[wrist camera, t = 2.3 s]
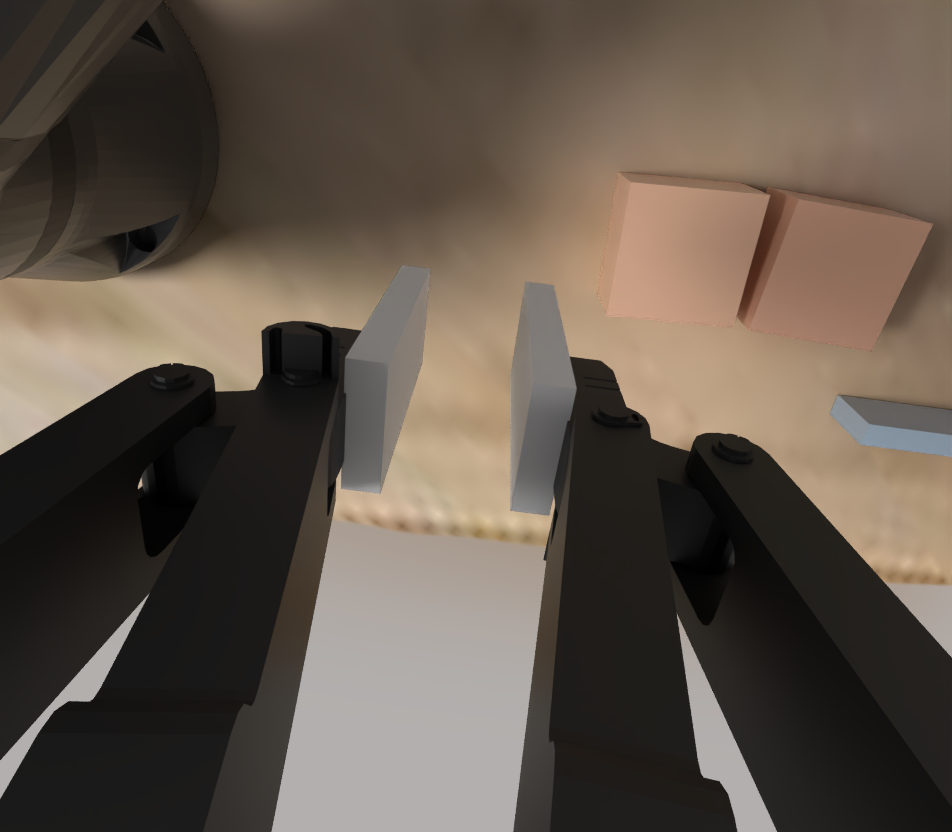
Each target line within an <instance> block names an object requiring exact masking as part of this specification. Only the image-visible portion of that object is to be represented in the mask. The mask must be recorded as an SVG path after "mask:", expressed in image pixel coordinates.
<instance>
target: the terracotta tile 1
mask: <svg viewBox="0 0 952 832" xmlns="http://www.w3.org/2000/svg"><path fill="white" fill-rule="evenodd" d="M769 198H770V195H769V194H767V193H764V192H762V191H759V190H757V189H754V188H752V187H750V186H747V185H745V184H742V183H734V182H723V181H712V180H701V179H690V178H679V177H668V176H657V175H646V174H635V173H624V172H618V174H617V180H616V185H615V191H614V197H613V203H612V209H611V214H610V220H609V226H608V232H607V238H606V244H605V249H604V255H603V261H602V267H601V273H600V278H599V284H598V290H597V294H598V296H599V299H600V301H601V304H602V306H603V308H604V311H605V313H606V315H607V316H614V317H625V318H636V319H646V320H657V321H668V322H678V323H689V324H700V325H711V326H721V327H732V328H733V326H734V323H735V319H736V316H737V312H738V309H739V305H740V302H741V298H742V294H743V291H744V287H745V284H746V280H747V277H748V273H749V269H750V266H751V262H752V259H753V255H754V252H755V248H756V245H757V241H758V237H759V234H760V230H761V227H762V223H763V220H764V216H765V212H766V209H767V205H768V202H769Z"/></svg>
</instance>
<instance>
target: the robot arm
mask: <svg viewBox="0 0 952 832" xmlns="http://www.w3.org/2000/svg"><path fill="white" fill-rule="evenodd" d="M162 1H163V0H0V280H2V279H5V278H7V277H11V278H27V279H43V280H59V281H81V282H82V281H96V280H103V279H109V278H113V277H118V276H121V275H124V274H128V273H130V272H132V271H135V270H137V269H139V268H141V267H144V266H146V265H148V264H150V263H152V262H154V261H156V260H158V259H160V258H162V257H164V256H165V255H167V254H168V253H170V252H171V251H172V250H174V249H175V248H176V247H177V246H179V245H180V244H181V243H182V242H183V241H184V240H185V239H186V238H187V237H188V236H189V234H190V233H191V232H192V231H193V229H194V228H195V227H196V225H197V224H198V222H199V221H200V219H201V217H202V215H203V214H204V211H205V209H206V207H207V205H208V203H209V200H210V197H211V194H212V191H213V187H214V183H215V178H216V173H217V165H218V130H217V121H216V115H215V109H214V105H213V101H212V97H211V93H210V90H209V86H208V83H207V80H206V78H205V75H204V72H203V69H202V67H201V65H200V62H199V60H198V58H197V56H196V54H195V52H194V50H193V48H192V46H191V44H190V42H189V40H188V39H187V37H186V35H185V33H184V32H183V30H182V29H181V27H180V25H179V24H178V22H177V21H176V19H175V18H174V17H173V15H172V14H171V12H170V11H169V10H168V8H167V7H166V6H165V5H164V3H163V2H162ZM430 271H431V269H430V268H422V267H415V266H407V265H402V266H401V268H400V269H399V271H398V273H397V274H396V276H395V277H394V279H393V281H392V282H391V284H390V286H389V287H388V289H387V290H386V292H385V294H384V295H383V297H382V299H381V300H380V302H379V303H378V305H377V307H376V308H375V310H374V312H373V313H372V315H371V316H370V318H369V320H368V321H367V323H366V325H365V326H364V328H363V329H362V331H361V330H353V329H346V328H338V327H329V326H326V325H323V324H319V323H313V322H305V321H290V322H281V323H276V324H273V325H270V326H267V327H266V328H265V329H264V330H262V360H263V376H262V378H261V380H260V382H259V384H258V385H257V387H256V389H255V390H249V391H224V392H215V382H214V377H213V374H211V373H210V372H209V371H207V370H206V369H203V368H199V367H196V366H189V365H184V364H181V363H173V365H171V363H170V364H162V365H160V366H158V367H153V368H148V369H146V370H143V371H141V372H138V373H136V374H134V375H133V376H131V377H129V378H128V379H126V380H124V381H123V382H121V383H119V384H118V385H116V386H114V387H113V388H111V389H110V390H108V391H106V392H105V393H103V394H101V395H100V396H98V397H96V398H95V399H93V400H91V401H90V402H88V403H86V404H85V405H83V406H81V407H80V408H78V409H76V410H75V411H73V412H71V413H70V414H68V415H66V416H65V417H63V418H61V419H60V420H58V421H56V422H55V423H53V424H51V425H50V426H48V427H47V428H45V429H43V430H42V431H40V432H38V433H37V434H35V435H33V436H32V437H30V438H28V439H27V440H25V441H23V442H22V443H20V444H18V445H17V446H15V447H13V448H12V449H10V450H8V451H7V452H5V453H3V454H2V455H0V760H1V759H2V758H3V757H4V756H5V754H6V753H7V752H8V751H9V750H10V749H11V748H12V747H13V745H14V744H15V743H16V742H17V741H18V740H19V739H20V738H21V737H22V735H23V734H24V733H25V732H26V731H27V730H28V729H29V728H30V726H31V725H32V724H33V723H34V722H35V721H36V720H37V718H38V717H39V716H40V715H41V714H42V713H43V711H45V709H46V708H47V707H48V706H49V705H50V704H51V703H52V702H53V701H54V700H55V698H56V697H57V696H58V695H59V694H60V693H61V692H62V690H63V689H64V688H65V687H66V686H67V685H68V684H69V683H70V682H71V680H72V679H73V678H74V677H75V676H76V675H77V674H78V673H79V671H80V670H81V669H82V668H83V667H84V666H85V664H87V663H88V661H89V660H90V659H91V658H92V657H93V656H94V655H95V654H96V652H97V651H98V650H99V649H100V648H101V647H102V646H103V645H104V643H105V642H106V641H107V640H108V639H109V638H110V637H111V636H112V634H113V633H114V632H115V631H116V630H117V629H118V628H119V627H120V625H121V624H122V623H123V622H124V621H125V620H126V619H127V617H129V615H130V614H131V613H132V612H133V611H134V610H135V609H136V608H137V606H138V605H139V604H140V603H141V602H142V601H143V600H144V598H145V597H146V596H147V595H148V594H149V593H150V594H149V596H148V598H147V600H146V602H145V604H144V605H143V607H142V609H141V611H140V613H139V615H138V617H137V619H136V621H135V623H134V625H133V627H132V628H131V630H130V632H129V634H128V636H127V638H126V640H125V642H124V644H123V646H122V648H121V650H120V652H119V654H118V655H117V657H116V659H115V661H114V663H113V665H112V667H111V669H110V671H109V673H108V675H107V677H106V679H105V681H104V682H103V684H102V686H101V688H100V690H99V691H98V693H97V694H96V696H95V697H94V699H93V700H91V701H90V702H79V701H73V702H72V701H68V702H67V703H65V704H64V705H62V706H61V707H60V708H58V709H57V710H55V711H54V712H53V714H52V715H51V716H50V718H49V719H48V721H47V722H46V723H45V725H44V726H43V727H42V729H41V730H40V732H39V733H38V735H37V737H36V738H35V740H34V742H33V743H32V745H31V747H30V749H29V750H28V752H27V754H26V755H25V757H24V759H23V761H22V762H21V764H20V766H19V768H18V769H17V771H16V773H15V775H14V776H13V778H12V780H11V781H10V783H9V785H8V787H7V789H6V790H5V792H4V793H3V795H2V797H1V799H0V832H271V831H272V826H273V821H274V816H275V810H276V805H277V800H278V795H279V790H280V784H281V779H282V774H283V769H284V764H285V758H286V753H287V748H288V743H289V738H290V733H291V728H292V722H293V717H294V712H295V707H296V702H297V697H298V692H299V687H300V681H301V676H302V670H303V666H304V660H305V656H306V650H307V645H308V640H309V634H310V629H311V624H312V619H313V614H314V609H315V603H316V598H317V594H318V588H319V583H320V578H321V573H322V568H323V563H324V558H325V552H326V547H327V542H328V537H329V532H330V526H331V521H332V516H333V511H334V506H335V501H336V478H337V476H338V474H339V471H340V469H341V467H342V473H341V489H348V490H355V491H363V492H371V493H378V494H380V493H381V490H382V486H383V483H384V480H385V477H386V474H387V471H388V468H389V465H390V462H391V458H392V455H393V452H394V449H395V446H396V443H397V440H398V437H399V434H400V430H401V427H402V424H403V421H404V418H405V415H406V412H407V409H408V406H409V403H410V399H411V396H412V393H413V390H414V387H415V384H416V381H417V378H418V375H419V371H420V368H421V365H422V359H423V348H424V337H425V326H426V315H427V304H428V293H429V282H430ZM141 478H142V485H143V486H142V487H141V488H139V489H138V484H139V482H140V479H141ZM553 496H554V498H555V510H554V514H553V519H552V523H551V528H550V532H549V537H548V541H547V546H546V551H545V555H544V560H546V569H545V577H544V585H543V594H542V601H541V610H540V618H539V626H538V634H537V642H536V650H535V659H534V667H533V675H532V684H531V691H530V700H529V708H528V717H527V725H526V732H525V741H524V750H523V757H522V765H521V773H520V782H519V790H518V798H517V806H516V814H515V823H514V831H513V832H737V828H736V823H735V817H734V814H733V810H732V807H731V803H730V799H729V796H728V793H727V792H726V790H725V789H724V788H723V786H722V784H721V783H720V781H716V780H711V779H707V778H703V776H702V775H701V772H700V767H699V763H698V758H697V751H696V744H695V738H694V730H693V723H692V716H691V709H690V703H689V696H688V689H687V682H686V675H685V668H684V661H683V654H682V647H681V641H680V633H679V627H678V620H677V614H678V617H679V619H680V621H681V623H682V625H683V627H684V629H685V632H686V634H687V636H688V638H689V640H690V643H691V645H692V647H693V649H694V651H695V654H696V656H697V658H698V660H699V662H700V664H701V667H702V669H703V671H704V673H705V675H706V678H707V680H708V682H709V684H710V686H711V689H712V691H713V693H714V695H715V697H716V699H717V702H718V704H719V706H720V708H721V710H722V712H723V714H724V717H725V719H726V721H727V723H728V726H729V728H730V730H731V732H732V734H733V736H734V739H735V741H736V743H737V745H738V747H739V749H740V752H741V754H742V756H743V758H744V760H745V763H746V765H747V767H748V769H749V771H750V773H751V776H752V778H753V780H754V782H755V784H756V787H757V789H758V791H759V793H760V795H761V797H762V800H763V802H764V804H765V806H766V808H767V810H768V812H769V814H770V817H771V819H772V821H773V823H774V826H775V828H776V830H777V832H952V658H951V656H950V655H949V654H948V653H947V652H946V651H945V650H944V649H943V648H942V646H941V645H940V644H939V643H938V642H937V641H936V640H935V638H933V636H932V635H931V634H930V633H929V632H928V631H927V630H926V628H925V627H924V626H923V625H922V624H921V623H920V622H919V621H918V620H917V619H916V617H915V616H914V615H913V614H912V613H911V612H910V611H909V610H908V608H907V607H906V606H905V605H904V604H903V603H902V602H901V601H900V600H899V598H898V597H897V596H896V595H895V594H894V593H893V592H892V591H891V589H890V588H889V587H888V586H887V585H886V584H885V583H884V582H883V581H882V579H881V578H880V577H879V576H878V575H877V574H876V573H875V572H874V571H873V569H872V568H871V567H870V566H869V565H868V564H867V563H866V562H865V561H864V559H863V558H862V557H861V556H860V555H859V554H858V553H857V552H856V551H855V549H854V548H853V547H852V546H851V545H850V544H849V543H848V542H847V541H846V539H845V538H844V537H843V536H842V535H841V534H840V533H839V532H838V530H837V529H836V528H835V527H834V526H833V525H832V524H831V523H830V522H829V520H828V519H827V518H826V517H825V516H824V515H823V514H822V513H821V512H820V510H819V509H818V508H817V507H816V506H815V505H814V504H813V503H812V502H811V500H810V499H809V498H808V497H807V496H806V495H805V494H804V493H803V492H802V490H801V489H800V488H799V487H798V486H797V485H796V484H795V483H794V482H793V480H792V479H791V478H790V477H789V476H788V475H787V474H786V473H785V471H784V470H783V469H782V468H781V467H780V466H779V465H778V464H777V463H776V461H775V460H774V459H773V458H772V457H771V456H770V455H769V454H768V453H767V452H766V451H764V450H763V449H762V448H761V447H759V446H757V445H755V444H753V443H751V442H749V440H748V439H746V438H743V437H738V436H737V435H734V434H722V433H704V434H701V435H699V436H697V437H696V438H695V440H694V442H693V445H692V448H691V451H690V452H689V451H686V450H683V449H679V448H676V447H672V446H669V445H666V444H663V443H660V442H658V441H656V440H654V439H651V433H650V427H649V424H648V422H647V420H646V418H644V417H643V416H642V415H640V414H639V413H638V412H636V411H634V410H632V409H630V408H627V407H626V405H625V402H624V399H623V396H622V394H621V391H620V388H619V385H618V383H617V380H616V377H615V374H614V372H613V370H612V369H610V368H609V367H608V366H607V365H605V364H604V363H603V362H602V361H599V360H591V359H584V358H576V357H570V356H569V352H568V347H567V343H566V338H565V334H564V329H563V325H562V320H561V316H560V311H559V307H558V302H557V298H556V293H555V289H554V285H548V284H541V283H533V282H526V281H525V288H524V294H523V300H522V306H521V312H520V318H519V325H518V331H517V337H516V343H515V349H514V356H513V362H512V368H511V374H510V511H517V512H525V513H533V514H540V515H548V516H549V514H550V510H551V505H552V501H553ZM676 612H677V613H676Z"/></svg>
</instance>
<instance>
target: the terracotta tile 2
mask: <svg viewBox="0 0 952 832" xmlns="http://www.w3.org/2000/svg"><path fill="white" fill-rule="evenodd" d="M765 193H767V194H769V195H770V198H769V202H768V205H767V209H766V212H765V216H764V220H763V223H762V227H761V230H760V234H759V237H758V241H757V245H756V248H755V252H754V255H753V259H752V262H751V266H750V269H749V273H748V277H747V280H746V284H745V287H744V291H743V294H742V298H741V302H740V305H739V309H738V312H737V316H736V317H737V318H738V319H739V320H740V321H741V322H742V323H743V324H744V325H745V326H746V327H747V328H748V329H749V330H753V331H758V332H764V333H770V334H775V335H781V336H787V337H792V338H798V339H804V340H809V341H815V342H821V343H826V344H832V345H838V346H843V347H849V348H855V349H860V350H866V351H872V349H873V347H874V345H875V343H876V341H877V339H878V337H879V335H880V333H881V331H882V329H883V327H884V325H885V323H886V321H887V319H888V316H889V314H890V312H891V310H892V308H893V306H894V304H895V302H896V300H897V298H898V296H899V294H900V292H901V290H902V288H903V286H904V284H905V282H906V280H907V277H908V275H909V273H910V271H911V269H912V267H913V265H914V263H915V261H916V259H917V257H918V255H919V253H920V251H921V249H922V247H923V245H924V243H925V241H926V238H927V236H928V234H929V232H930V230H931V228H932V226H933V224H932V223H929V222H926V221H923V220H920V219H917V218H914V217H911V216H907V215H904V214H901V213H898V212H895V211H892V210H889V209H885V208H879V207H874V206H868V205H863V204H857V203H852V202H846V201H841V200H836V199H830V198H825V197H819V196H814V195H808V194H803V193H797V192H792V191H787V190H781V189H776V188H770V187H767V190H766V192H765Z"/></svg>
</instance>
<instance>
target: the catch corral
mask: <svg viewBox="0 0 952 832" xmlns="http://www.w3.org/2000/svg"><path fill="white" fill-rule="evenodd" d="M830 415H831V416H832V417H833V418H834V419H835V420H836V421H837V422H838V423H839V424H840V425H841V426H842V427H843V428H844V429H845V430H846V431H847V432H848V433H849V434H850V435H851V436H852V437H853V438H854V439H855V440H856V441H857V442H858V443H859V444H860V445H866V446H874V447H882V448H889V449H897V450H904V451H912V452H919V453H927V454H934V455H942V456H950V457H952V410H947V409H940V408H932V407H925V406H917V405H910V404H902V403H895V402H887V401H880V400H872V399H865V398H857V397H850V396H842V395H838V396H837V398H836V401H835V403H834V405H833V408H832V410H831V412H830Z"/></svg>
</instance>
